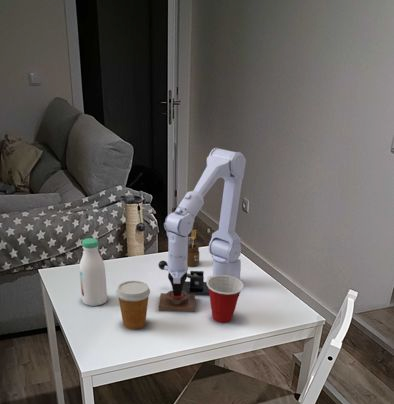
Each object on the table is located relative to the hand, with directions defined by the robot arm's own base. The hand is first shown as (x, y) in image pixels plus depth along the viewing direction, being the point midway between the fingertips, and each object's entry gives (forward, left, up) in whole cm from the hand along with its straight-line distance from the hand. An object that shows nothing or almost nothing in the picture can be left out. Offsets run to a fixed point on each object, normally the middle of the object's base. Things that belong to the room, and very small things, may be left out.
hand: (177, 294), depth 153 cm
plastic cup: (-14, +8, -4) cm, 17 cm away
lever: (0, -11, +1) cm, 11 cm away
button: (0, 0, -2) cm, 2 cm away
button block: (0, 0, -3) cm, 3 cm away
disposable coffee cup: (+12, +13, -4) cm, 18 cm away
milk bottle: (+26, -1, -4) cm, 26 cm away
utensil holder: (-4, -33, -4) cm, 33 cm away
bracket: (-6, -11, -3) cm, 13 cm away
